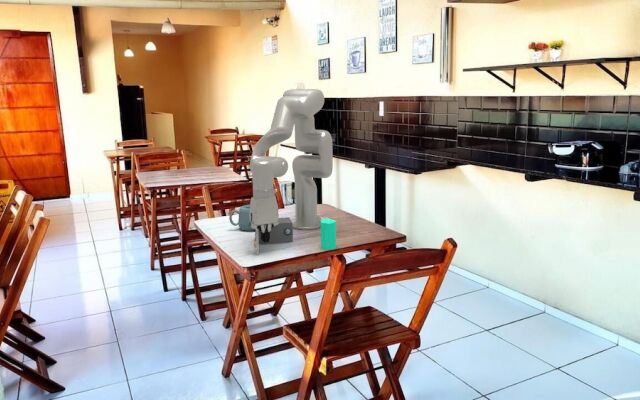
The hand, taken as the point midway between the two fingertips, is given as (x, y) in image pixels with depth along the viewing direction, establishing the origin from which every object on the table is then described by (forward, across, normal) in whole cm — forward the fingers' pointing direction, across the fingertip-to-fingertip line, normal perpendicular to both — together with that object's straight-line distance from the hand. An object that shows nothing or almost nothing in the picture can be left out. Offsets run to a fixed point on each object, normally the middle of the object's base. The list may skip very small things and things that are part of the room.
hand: (265, 241), depth 196 cm
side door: (+3, +2, -3) cm, 5 cm away
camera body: (+4, -8, -12) cm, 15 cm away
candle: (+4, -23, +7) cm, 24 cm away
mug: (+5, -5, -34) cm, 35 cm away
